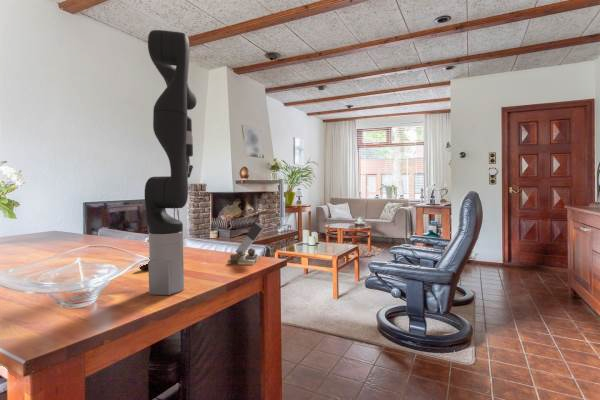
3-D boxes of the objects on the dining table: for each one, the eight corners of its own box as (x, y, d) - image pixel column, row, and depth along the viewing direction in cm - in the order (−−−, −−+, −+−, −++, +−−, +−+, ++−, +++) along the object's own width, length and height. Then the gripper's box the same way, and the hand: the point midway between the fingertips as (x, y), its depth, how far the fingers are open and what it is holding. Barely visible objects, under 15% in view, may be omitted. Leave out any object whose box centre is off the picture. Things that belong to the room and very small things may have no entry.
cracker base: (253, 264, 131) (253, 251, 131) (227, 264, 132) (227, 250, 132) (259, 258, 141) (259, 246, 141) (235, 258, 142) (235, 245, 142)
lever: (238, 261, 134) (261, 229, 132) (230, 255, 134) (254, 223, 132) (242, 257, 140) (265, 227, 138) (235, 252, 140) (258, 221, 138)
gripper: (183, 141, 124) (184, 189, 125) (199, 145, 137) (199, 188, 138) (164, 141, 125) (165, 189, 126) (181, 145, 138) (182, 188, 139)
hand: (183, 189), depth 132 cm, fingers closed
